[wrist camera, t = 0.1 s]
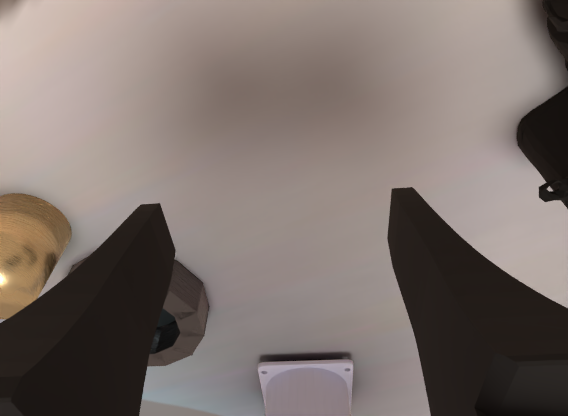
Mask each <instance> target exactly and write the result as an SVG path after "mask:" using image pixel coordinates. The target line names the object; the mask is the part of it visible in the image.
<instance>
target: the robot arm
mask: <svg viewBox="0 0 568 416" xmlns="http://www.w3.org/2000/svg"><path fill="white" fill-rule="evenodd" d="M388 244H389V249H390V255H391V260H392V265H393V269H394V272H395V275H396V279H397V282H398V285H399V288H400V291H401V294H402V297H403V300H404V303H405V306H406V309H407V312H408V316H409V319H410V322H411V325H412V328H413V332H414V335H415V339H416V343H417V348H418V352H419V357H420V362H421V366H422V371H423V376H424V381H425V386H426V392H427V397H428V402H429V407H430V413H431V416H568V308H566V307H564V306H562V305H560V304H558V303H556V302H554V301H552V300H550V299H549V298H547V297H545V296H543V295H542V294H540V293H538V292H536V291H535V290H533V289H531V288H530V287H528V286H526V285H525V284H523V283H522V282H520V281H518V280H517V279H515V278H514V277H512V276H511V275H509V274H508V273H506V272H505V271H503V270H502V269H500V268H499V267H498V266H496V265H495V264H494V263H492V262H491V261H489V260H488V259H487V258H485V257H484V256H483V255H481V254H480V253H479V252H478V251H476V250H475V249H474V248H473V247H472V246H471V245H469V244H468V243H467V242H466V241H465V240H464V239H463V238H462V237H460V236H459V235H458V234H457V233H456V232H455V231H454V230H453V229H452V228H451V227H450V226H449V225H448V224H447V223H446V222H445V221H444V220H443V219H442V218H441V217H440V216H439V215H438V214H437V213H436V212H435V211H434V210H433V209H432V208H431V207H430V206H429V205H428V204H427V202H426V201H425V200H424V199H423V198H422V197H421V196H420V195H419V194H418V193H417V191H416V190H415V189H414V188H412V187H410V188H394V189H392V194H391V205H390V216H389V227H388ZM174 258H175V247H174V244H173V241H172V238H171V235H170V232H169V229H168V226H167V223H166V220H165V217H164V214H163V211H162V208H161V205H160V203H158V204H142V205H140V206H139V207H138V208H137V209H136V210H135V211H134V212H133V213H132V214H131V215H130V216H129V217H128V218H127V219H126V220H125V221H124V222H123V223H122V224H121V225H120V226H119V227H118V228H117V229H116V231H115V232H114V233H113V234H112V235H111V236H110V237H109V238H108V239H107V240H106V241H105V242H104V243H103V244H102V245H101V246H100V247H99V248H98V249H97V250H95V251H94V252H93V253H92V254H91V255H90V256H89V257H88V258H87V259H86V260H85V261H84V262H82V263H81V264H80V265H79V266H78V267H77V268H76V269H75V270H74V271H72V272H71V273H70V274H69V275H68V276H67V277H65V278H64V279H63V280H62V281H60V282H59V283H58V284H57V285H55V286H54V287H53V288H51V289H50V290H49V291H48V292H46V293H45V294H43V295H42V296H41V297H39V298H38V299H36V300H35V301H33V302H32V303H30V304H29V305H27V306H26V307H25V308H23V309H22V310H20V311H19V312H17V313H16V314H14V315H13V316H11V317H10V318H8V319H6V320H5V321H3V322H1V323H0V416H139V412H140V406H141V400H142V394H143V387H144V381H145V376H146V370H147V365H148V360H149V354H150V350H151V346H152V342H153V338H154V335H155V332H156V328H157V325H158V322H159V318H160V315H161V312H162V309H163V305H164V302H165V299H166V295H167V292H168V288H169V285H170V281H171V277H172V271H173V265H174ZM258 373H259V378H260V384H261V389H262V394H263V399H264V404H265V416H351V399H352V382H353V361H352V360H349V359H340V360H311V361H281V362H261V363H259V364H258Z"/></svg>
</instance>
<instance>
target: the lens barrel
mask: <svg viewBox="0 0 568 416" xmlns="http://www.w3.org/2000/svg"><path fill="white" fill-rule="evenodd" d="M87 258H88V257H87ZM87 258H85V259H84V260H82V261H80V262H79V263H77V264H75V265H73V266H72V268H71V270H70V272H69V274H70V273H71V272H72V271H74V270H75V269H76V268H77V267H78V266H79V265H80V264H81V263H82V262H84V261H85V260H86V259H87ZM69 274H68V275H69ZM208 311H209V304H208V301H207V297H206V294H205V290H204V286H203V283H202V282H201V281H200V280H199V279H198V278H196V277H195V276H194V275H193V274H192V273H190V272H189V271H188V270H187V269H186V268H185V267H183V266H182V265H181V264H180V263H179V262H178V261H175V260H174V265H173V271H172V277H171V281H170V285H169V288H168V292H167V295H166V299H165V302H164V305H163V309H162V312H161V315H160V318H159V322H158V325H157V328H156V332H155V335H154V338H153V342H152V346H151V350H150V354H149V360H148V365H147V366H166V365H169V364H171V363H173V362H176V361H178V360H181V359H183V358H185V357H188V356H190V355H193V352H194V351H195V349H196V348H197V346H198V344H199V343H200V341H201V340H202V338H203V336H204V334H205V328H206V322H207V317H208Z"/></svg>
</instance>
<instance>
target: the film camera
mask: <svg viewBox="0 0 568 416" xmlns="http://www.w3.org/2000/svg"><path fill="white" fill-rule="evenodd" d="M543 8H544V9H545V11H546V13H547V14H548V18H547V27H548V31H549V34H550V37H551V39H552V40H553V42H554V43H555V45H556V46H557V48H558V49H559V51H560V52H561V54H562V55H563V56H564V58H565V61H566V68H567V70H568V0H543ZM517 140H518V146H519V147H520V149H521V150H522V152H523V153H524V155H525V156H526V157H527V158H528V160H529V161H530V162H531V163H532V164H533V165H534V167H535V168H536V169H537V170H538V171H539V173H540V174H541V175H542V177H543V178H544V179H545V181H546V182H547V183H545V184H543V185H542V186H540V187H539V198H541V199H542V200H543V201H544V202H548V201H553V200H561V201H562V202H563V203H564V205H565V206H566V207H567V209H568V87H567V88H566V89H564V90H563V91H561V92H560V93H558V94H557V95H555V96H554V97H552V98H551V99H549V100H548V101H546V102H545V103H543V104H542V105H540V106H538V107H537V108H535V109H533V110H532V111H531V112H529V113H528V114H527V115H526V116H524V117H523V118H522V120H521V122H520V124H519V127H518V132H517ZM549 186H550V187H551V188H552V190H553V191H552V192H549V191H548V190H547V188H548V187H549Z"/></svg>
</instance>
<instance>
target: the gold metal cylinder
mask: <svg viewBox="0 0 568 416" xmlns="http://www.w3.org/2000/svg"><path fill="white" fill-rule="evenodd" d="M71 234H72V233H71V227H70V224H69V222H68V220H67V219H66V217H65V216H64V215H63V214H62V213H61V212H60V211H59V210H58V209H57V208H56V207H54V206H53V205H52V204H50V203H48V202H46V201H44V200H42V199H40V198H37V197H34V196H31V195H26V194H15V193H13V194H6V195H3V196H0V319H8V318H10V317H11V316H13V315H14V314H16V313H17V312H19V311H20V310H22V309H23V308H25V307H26V306H27V305H29V304H30V303H32V302H33V301H35V300H36V299H37V298H38V296H39V294H40V292H41V291H42V289H43V287H44V285H45V284H46V282H47V280H48V278H49V277H50V275H51V273H52V271H53V269H54V268H55V266H56V264H57V262H58V261H59V259H60V257H61V255H62V254H63V252H64V250H65V248H66V246H67V245H68V243H69V241H70V239H71Z"/></svg>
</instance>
